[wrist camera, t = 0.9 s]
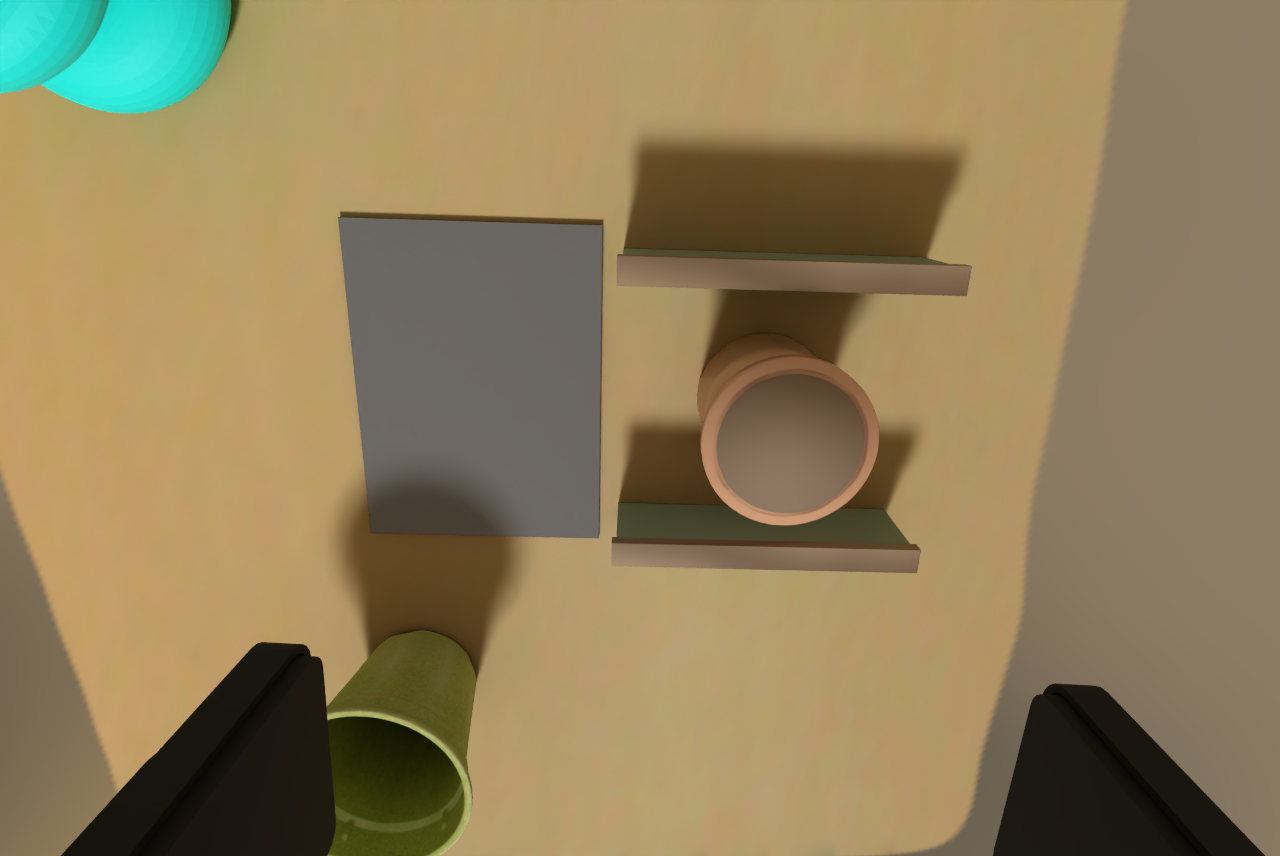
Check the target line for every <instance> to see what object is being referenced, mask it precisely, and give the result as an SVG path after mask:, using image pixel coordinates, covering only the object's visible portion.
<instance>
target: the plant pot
mask: <svg viewBox="0 0 1280 856" xmlns="http://www.w3.org/2000/svg"><path fill="white" fill-rule="evenodd" d="M475 687H476V675H475V672H474V669H473V667H472V664H471V661H470V659H469V656H468V654H467V653H466V652H465V651H464V649H463V648H462V647H461V646H459V645H458V644H457V643H456V642H454V641H453V640H451V639H450V638H448V637H445V636H443V635H441V634H438V633H435V632H431V631H424V630H417V631H413V632H410V633H405V634H400V635H393V636H391V637H389V638H387V639H386V640H385V641H383V642H382V643H381V644H380V645H379V646H378V647H377V648H376V650H375V651H374V652H373V653H372V654H371V655H370V656H369V658H368V659H367V660H366V661H365V663H364V664H363V665H362V666H361V668H360V669H359V670H358V671H357V672H356V674H355V675H354V676H353V677H352V678H351V680H350V681H349V682H348V683H347V684H346V685H345V687H344V688H343V689H342V690H341V691H340V692H339V693H338V695H337V696H336V697H335V698H334V699H333V700H332V702H331V703H330V704H329V705H328V706H327V707H326V708H327V719H328V731H329V743H330V755H331V766H332V778H333V790H334V802H335V813H336V828H335V834H334V839H333V842H332V846H331V848H330V851H329V853H328V855H327V856H440V855H441V854H443V853H444V852H446V851H447V850H448V849H449V848H450V847H451V846H453V845H454V844H455V842H456V841H457V840H458V839H459V838H460V836H461V835H462V833H463V831H464V829H465V828H466V826H467V824H468V821H469V818H470V813H471V808H472V799H473V796H472V785H471V781H470V777H469V773H468V765H467V759H466V756H467V748H468V740H469V732H470V724H471V717H472V710H473V702H474V695H475Z"/></svg>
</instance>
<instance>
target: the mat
mask: <svg viewBox="0 0 1280 856" xmlns="http://www.w3.org/2000/svg"><path fill="white" fill-rule="evenodd" d="M338 221H339V230H340V240H341V249H342V259H343V269H344V278H345V288H346V297H347V307H348V316H349V326H350V335H351V345H352V354H353V364H354V373H355V383H356V392H357V402H358V411H359V421H360V431H361V440H362V450H363V459H364V469H365V478H366V488H367V497H368V507H369V516H370V526H371V533H395V534H437V535H480V536H523V537H566V538H599V484H600V402H601V320H602V237H603V225H580V224H548V223H515V222H482V221H450V220H417V219H384V218H351V217H338Z"/></svg>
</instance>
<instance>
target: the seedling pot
mask: <svg viewBox="0 0 1280 856" xmlns="http://www.w3.org/2000/svg"><path fill="white" fill-rule="evenodd" d="M697 405H698V411H699V415H700V418H701V422H702V426H701V433H700V450H701V456H702V461H703V465H704V468H705V472H706V475H707V477H708V479H709V481H710V484H711V485H712V487H713V489H714V490H715V492H716V493H717V494H718V495H719V497H720V498H721V499H722V500H723V501H724V502H725V503H726V504H727V505H728V506H729V507H731V508H732V509H733V510H735V511H736V512H738V513H739V514H741V515H743V516H745V517H747V518H749V519H752V520H755V521H758V522H761V523H766V524H771V525H796V524H803V523H807V522H811V521H814V520H817V519H820V518H822V517H825V516H827V515H828V514H830V513H832V512H834V511H836V510H837V509H839V508H840V507H841V506H843V505H844V504H846V503H847V502H848V501H849V500H850V499H851V498H852V497H853V496H854V495H855V494H856V493H857V492H858V491H859V490H860V488H861V487H862V486H863V484H864V483H865V481H866V480H867V478H868V476H869V474H870V472H871V470H872V468H873V466H874V463H875V460H876V456H877V452H878V446H879V426H878V421H877V416H876V413H875V410H874V408H873V405H872V403H871V401H870V399H869V398H868V396H867V394H866V393H865V392H864V390H863V389H862V388H861V387H860V386H859V385H858V384H857V383H856V382H855V381H854V380H853V379H852V378H851V377H850V376H849V375H848V374H847V373H845V372H844V371H843V370H841V369H840V368H839V367H837V366H835V365H833V364H831V363H829V362H827V361H825V360H822V359H819V358H816V357H815V356H814V355H813V354H812V353H810V352H809V351H808V350H807V349H806V348H805V347H804V346H803V345H801V344H800V343H798V342H797V341H795V340H793V339H791V338H788V337H786V336H783V335H778V334H772V333H757V334H751V335H747V336H744V337H741V338H738V339H736V340H734V341H732V342H730V343H729V344H727V345H725V346H724V347H723V348H722V349H720V350H719V351H718V352H717V353H716V354H715V355H714V356H713V357H712V359H711V360H710V361H709V363H708V364H707V366H706V367H705V369H704V371H703V373H702V376H701V378H700V381H699V385H698V391H697Z"/></svg>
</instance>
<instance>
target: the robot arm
mask: <svg viewBox="0 0 1280 856" xmlns="http://www.w3.org/2000/svg"><path fill="white" fill-rule="evenodd" d="M335 828H336V813H335V802H334V790H333V778H332V766H331V755H330V743H329V731H328V719H327V708H326V696H325V684H324V673H323V664H322V661H321V659H320V658H319V657H313V656H311V655H310V651H309V649H308V647H307V646H305V645H304V644H286V643H267V642H261V643H257V644H256V645H255V646H254V647H252V648H251V649H250V650H249V652H248V653H247V654H246V655H245V656H244V657H243V658H242V659H241V660H240V661H239V663H238V664H237V665H236V666H235V667H234V668H233V669H232V670H231V671H230V673H229V674H228V675H227V676H226V677H225V678H224V679H223V680H222V681H221V682H220V684H219V685H218V686H217V687H216V688H215V689H214V690H213V691H212V692H211V694H210V695H209V696H208V697H207V698H206V699H205V700H204V701H203V702H202V703H201V705H200V706H199V707H198V708H197V709H196V710H195V711H194V712H193V713H192V715H191V716H190V717H189V718H188V719H187V720H186V721H185V722H184V723H183V724H182V726H181V727H180V728H179V729H178V730H177V731H176V732H175V733H174V734H173V735H172V737H171V738H170V739H169V740H168V741H167V742H166V743H165V744H164V745H163V747H162V748H161V749H160V750H159V751H158V752H157V753H156V754H155V755H154V756H152V757H151V758H150V759H149V760H148V761H147V762H146V763H145V764H144V765H143V766H142V767H141V768H140V769H139V770H138V771H137V773H136V774H135V775H134V776H133V777H132V778H131V779H130V780H129V781H128V782H127V784H126V785H125V786H124V787H123V788H122V789H121V790H120V791H119V792H118V793H117V795H116V796H115V797H114V798H113V799H112V800H111V801H110V802H109V804H107V806H106V807H105V808H104V809H103V810H102V811H101V812H100V813H99V814H98V815H97V817H96V818H95V819H94V820H93V821H92V822H91V823H90V824H89V825H88V827H87V828H86V829H85V830H84V831H83V832H82V833H81V834H80V835H79V836H78V838H77V839H76V840H75V841H74V842H73V843H72V844H71V845H70V846H69V847H68V849H66V851H65V852H64V853H63V854H62V855H61V856H327V855H328V853H329V851H330V848H331V846H332V842H333V839H334V834H335ZM993 856H1265V855H1264V854H1263V853H1262V852H1261V851H1260V850H1259V849H1258V848H1257V847H1256V846H1255V845H1254V844H1253V843H1252V842H1251V841H1250V840H1249V839H1248V838H1247V836H1245V834H1244V833H1243V832H1242V831H1241V830H1240V829H1239V828H1238V827H1237V826H1236V825H1235V824H1234V823H1233V822H1232V821H1231V820H1230V819H1229V818H1228V817H1227V816H1226V815H1225V814H1224V813H1223V812H1222V811H1221V810H1220V808H1219V807H1218V806H1217V805H1216V804H1215V803H1214V802H1213V801H1212V800H1211V799H1210V798H1209V797H1208V796H1207V795H1206V794H1205V793H1204V792H1203V791H1202V790H1201V789H1200V788H1199V787H1198V786H1197V785H1196V784H1195V783H1194V782H1193V780H1192V779H1191V778H1190V777H1189V776H1188V775H1187V774H1186V773H1185V772H1184V771H1183V770H1182V769H1181V768H1180V767H1179V766H1178V765H1177V764H1176V763H1175V762H1174V761H1173V760H1172V759H1171V758H1170V757H1169V756H1168V755H1167V753H1166V752H1165V751H1164V750H1163V749H1162V748H1161V747H1160V746H1159V745H1158V744H1157V743H1156V742H1155V741H1154V740H1153V739H1152V738H1151V737H1150V736H1149V735H1148V734H1147V733H1146V732H1145V731H1144V730H1143V729H1142V728H1141V727H1140V725H1139V724H1137V722H1136V721H1135V720H1134V719H1133V718H1132V717H1131V716H1130V715H1129V714H1128V713H1127V712H1126V711H1125V710H1124V709H1123V708H1122V707H1121V706H1120V705H1119V704H1118V703H1117V702H1116V701H1115V700H1114V699H1113V698H1112V697H1111V696H1110V694H1109V693H1108V692H1106V691H1105V690H1104V689H1102V688H1101V687H1097V686H1090V685H1072V684H1052V685H1049V686H1048V687H1047V688H1046V689H1045V690H1044V693H1043V695H1041V694H1040V695H1036V696H1035V697H1034V699H1033V700H1032V703H1031V706H1030V710H1029V714H1028V718H1027V722H1026V726H1025V730H1024V733H1023V738H1022V742H1021V745H1020V749H1019V753H1018V757H1017V761H1016V766H1015V769H1014V773H1013V777H1012V781H1011V785H1010V789H1009V793H1008V797H1007V801H1006V805H1005V808H1004V813H1003V817H1002V820H1001V824H1000V828H999V832H998V836H997V840H996V844H995V848H994V853H993Z"/></svg>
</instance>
